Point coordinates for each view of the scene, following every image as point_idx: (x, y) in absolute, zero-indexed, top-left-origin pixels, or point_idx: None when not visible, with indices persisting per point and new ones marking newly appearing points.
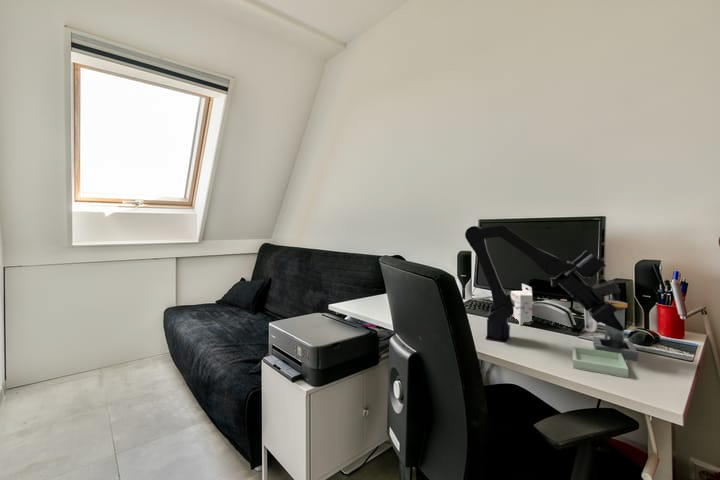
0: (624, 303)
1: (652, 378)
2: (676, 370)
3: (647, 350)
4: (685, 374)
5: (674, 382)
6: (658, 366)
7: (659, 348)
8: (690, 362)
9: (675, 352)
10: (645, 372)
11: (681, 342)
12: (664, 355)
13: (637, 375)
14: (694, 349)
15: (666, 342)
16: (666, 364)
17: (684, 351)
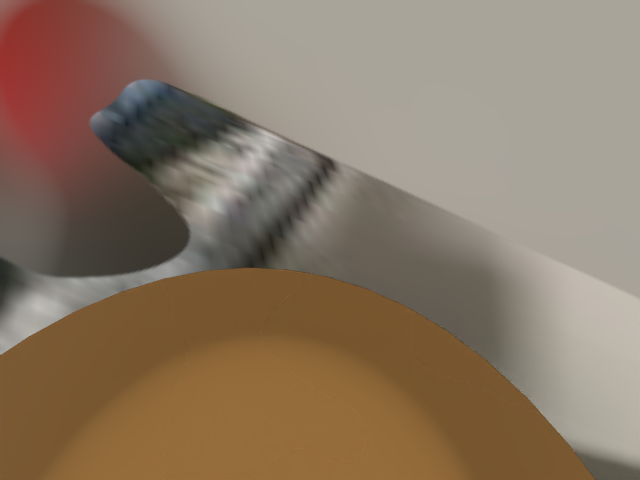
0: (327, 358)
1: (625, 394)
2: (459, 250)
3: (238, 248)
4: (489, 240)
5: (612, 319)
6: (442, 296)
7: (205, 193)
8: (345, 170)
9: (245, 164)
10: (559, 392)
11: (129, 101)
12: (290, 214)
13: (632, 456)
14: (202, 102)
15: (128, 140)
16: (402, 255)
17: (228, 135)
